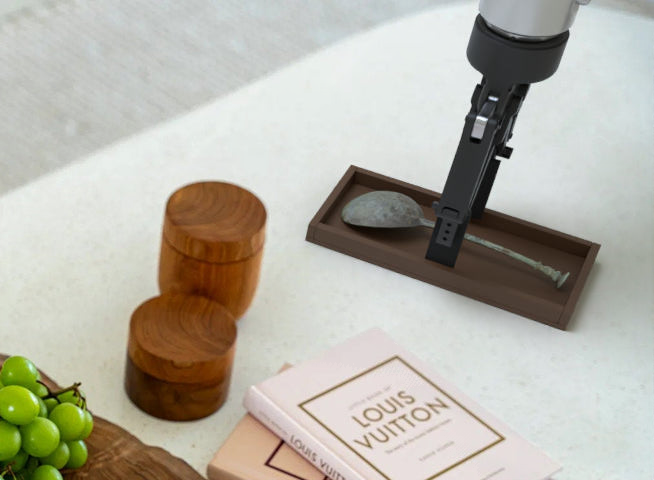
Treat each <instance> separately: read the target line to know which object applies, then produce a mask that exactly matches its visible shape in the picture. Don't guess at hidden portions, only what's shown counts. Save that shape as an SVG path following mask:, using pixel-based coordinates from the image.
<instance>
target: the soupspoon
mask: <svg viewBox="0 0 654 480" xmlns="http://www.w3.org/2000/svg"><path fill="white" fill-rule="evenodd" d="M341 217H342V219H343V220H344V221H345V222H346V223H349V224H352V225H357V226H366V227H381V228H382V227H384V228H397V227H398V228H399V227H414V226H423V227H427V228H431V229H434V226H435V223H436V222H432V221H429V220H426V219H425V217H424V214H423V211H422V209H421V208H420V206H419V205H418V204H417V203H416V202H415V201H414V200H413V199H411V198H410V197H408V196H405V195H403V194H401V193H397V192H392V191H375V192H370V193H366V194H364V195H361V196H359V197H357V198H355V199H353V200H352V201H350V202H349V203H347V204H346V205H345V207H344V208H343V210H342V213H341ZM464 239H465V240H468V241H470V242H473V243H476V244H478V245H481V246H484V247H486V248H489V249H491V250H494V251H497V252H499V253H502V254H504V255H507V256H509V257H511V258H514V259H516V260H519V261H521V262H523V263H526V264H528V265H530V266H532V267H533V268H534V270H537V269H539V270H540V272H541V273H542V274H543V275H544V276H548V278H551V281H552V282H555V281H556V282H558V285H557V289H559V288H560V287H561V286H562V285H563V283H564V282H565V280H566V279H567V277H568V275H569V272H568V273H566V274H565V275H561V272H560V271H555V270H554V269H552V268H551V267H548V266H542V265H541V262H535V261H533V260H531V259H529V258H527V257H525V256H522V255H520V254H518V253H516V252H513V251H511V250H509V249H506V248H504V247H501V246H499V245H496V244H493V243H491V242H488V241H486V240H483V239H480V238H478V237H475V236H473V235H470V234H468V233H465V236H464Z"/></svg>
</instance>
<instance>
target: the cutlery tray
mask: <svg viewBox="0 0 654 480" xmlns="http://www.w3.org/2000/svg"><path fill="white" fill-rule="evenodd" d="M375 191H392V192H397V193H401V194H403V195H405V196H408V197H410V198H411V199H413V200H414V201H415V202H416V203H417V204H418V205H419V206H420V208H421V209H422V211H423V214H424V217H425V219H426V220H429V221H432V222H436V219H437V216H435V209H432V208H431V206H432V203H433V202H435V201H436V202H439V201H440V198H441V195H442V192H438V191H435V190H432V189H429V188H426V187H422V186H420V185H416V184H413V183H410V182H408V181H407V182H406V181H404V180H400V179H397V178H395V177H392V176H389V175H385V174H383V173H379V172H376V171H373V170H369V169H367V168H364V167H360V166H358V165H354V164H350V165H349V167H348V168H347V169H346V171H345V172H344V174H343V175H342V176H341V178H340V179H339V181H338V182H337V183H336V185H335V187H333V189H332V191H331V192H330V193H329V195H328V196H327V197H326V199H325V200H324V201H323V203H322V204H321V206H320V207H319V208H318V210H317V211H316V213H315V214H314V216H313V217H312V219H311V220H310V221H309V223H308V225H307V229H306V234H305V238H304V240H305V241H307V242H309V243H313V244H316V245H318V246H320V247H324V248H327V249H330V250H333V251H336V252H339V253H341V254H344V255H346V256H350V257H352V258H356V259H359V260H362V261H364V262H367V263H370V264H373V265H375V266H378V267H381V268H384V269H386V270H390V271H393V272H396V273H398V274H401V275H404V276H407V277H411V278H413V279H416V280H418V281H421V282H424V283H427V284H429V285H432V286H436V287H439V288H441V289H444V290H447V291H449V292H453V293H456V294H458V295H461V296H463V297H467V298H470V299H473V300H476V301H478V302H482V303H484V304H487V305H490V306H493V307H495V308H498V309H502V310H504V311H507V312H510V313H512V314H516V315H519V316H521V317H524V318H526V319H529V320H532V321H535V322H538V323H541V324H544V325H547V326H550V327H553V328H556V329H559V330H562V331H566V329H567V326H568V325H569V322H570V320H571V318H572V316H573V313H574V311H575V309H576V306H577V304H578V302H579V299H580V296H581V295H582V292H583V290H584V287H585V285H586V283H587V280H588V279H589V278H588V277H589V275H590V273H591V271H592V269H593V266H594V264H595V261H596V259H597V257H598V254H599V251H600V249H601V247H602V244H600V243H597V242H595V241H591V240H588V239H585V238H583V237H578V236H576V235H572V234H569V233H567V232H564V231H560V230H557V229H554V228H551V227H547V226H544V225H541V224H538V223H535V222H532V221H529V220H525V219H522V218H519V217H516V216H513V215H510V214H507V213H504V212H500V211H497V210H494V209H491V208H489V207H488V208H487V207H485V210H484V213H483V216H482V218H481V220H478V219H475V218H472V217H471V218H470V221H469V224H468V227H467V230H466V233H468V234H470V235H473V236H475V237H478V238H480V239H483V240H486V241H488V242H491V243H493V244H496V245H499V246H501V247H504V248H506V249H509V250H511V251H513V252H516V253H518V254H520V255H522V256H525V257H527V258H529V259H531V260H533V261H535V262H541V265H542V266H548V267H551V268H552V269H554V270H555V271H560V272H561V275H565V274H566V273H568V272H569V275H568V277H567V279H566V280H565V282H564V283H563V285H562V286H561V287H560V288H559V289H557V285H558V282H556V281H555V282H552V281H551V278H548V276H544V275H543V274H542V273H541V272H540V270H539V269H537V270H534V268H533V267H532V266H530V265H528V264H526V263H523V262H521V261H519V260H516V259H514V258H511V257H509V256H507V255H504V254H502V253H499V252H497V251H494V250H491V249H489V248H486V247H484V246H481V245H478V244H476V243H473V242H470V241H468V240H465V239H463V242H462V245H461V248H460V251H459V254H458V257H457V260H456V263H455V266H454V268H451V267H448V266H445V265H442V264H439V263H436V262H434V261H431V260H428V259H425V255H426V252H427V249H428V246H429V242H430V239H431V236H432V232H433V229H431V228H427V227H423V226H414V227H399V228H398V227H397V228H384V227H382V228H381V227H366V226H357V225H352V224H349V223H346V222H345V221H344V220H343V219H342V217H341V213H342V210H343V208H344V207H345V205H346V204H347V203H349V202H350V201H352V200H353V199H355V198H357V197H359V196H361V195H364V194H366V193H370V192H375Z"/></svg>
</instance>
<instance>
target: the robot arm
mask: <svg viewBox="0 0 654 480" xmlns="http://www.w3.org/2000/svg"><path fill="white" fill-rule="evenodd" d="M591 1H592V0H479V1H478V11H479V13H477V15H476V17H475V19H474V23H473V26H472V30H471V33H470V36H469V40H468V43H467V46H466V51H465V52H466V53H465V54H466V59H467V61H468V63H469V65H470V67H472V68H473V69H474V70H475V71H477V72H478V73H479V74H481V75H482V77H481V80H480V83H477V84H476V85H475V87H474V90H473V92H472V95H471V97H470V108H469V111H468V112H467V114H466V115H465V117H464V125H463V127H462V132H461V135H460V139H459V142H458V145H457V148H456V150H455V153H454V157H453V159H452V163H451V165H450V169H449V171H448V173H447V177H446V180H445V184H444V186H443V189H442V192H441V193H442V195H441V198H440V201H439V202H436V201H435V202H433V203H432V206H431V208H432V209H435V216H437V219H436V223H435V226H434V229H433V232H432V236H431V239H430V242H429V246H428V249H427V252H426V255H425V259H428V260H431V261H434V262H436V263H439V264H442V265H445V266H448V267H451V268H454V266H455V263H456V260H457V257H458V254H459V251H460V248H461V245H462V242H463V239H464V236H465V233H466V230H467V227H468V224H469V221H470V218H471V217H472V218H475V219H478V220H481V218H482V216H483V213H484V210H485V208H487V204H488V201H489V198H490V196H491V192H492V189H493V186H494V185H495V184H494V183H495V181H496V178H497V175H498V171H499V169H500V166H501V163H502V160H501V159H497V157H499V158H503V159H506V160H510V159H511V156H512V155H513V151H514V149H515V148H514V147H511V146H508V145H507V144H508V143H509V141H510V140H512V138H513V136H514V133H513V132H514V128H515V125H516V122H517V119H518V116H519V113H520V111H521V109H522V107H523V104H524V101H525V99H526V98H527V95H528V93H529V91H530V89H531V85H532V84H537V83H540V82H544V81H546V80H548V79H550V78H551V77H552V76H554V75H555V74H556V72H557V71H558V69H559V67H560V64H561V61H562V59H563V56H564V52H565V50H566V48H567V44H568V42H569V39H570V34H571V32H570V29H571V28H572V26H573V25H574V24H575V20H576V17H577V15H578V12H579V10H580V6H583V7H584V6H588V5H589V4H591Z"/></svg>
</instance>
